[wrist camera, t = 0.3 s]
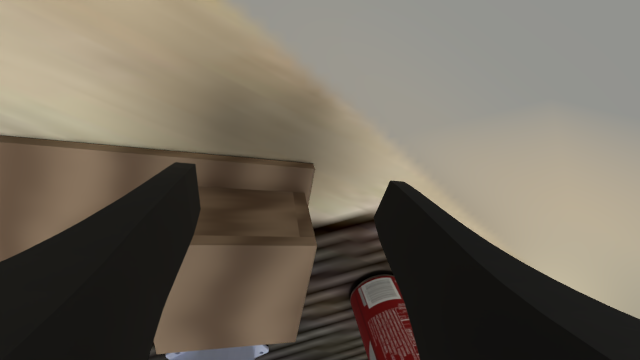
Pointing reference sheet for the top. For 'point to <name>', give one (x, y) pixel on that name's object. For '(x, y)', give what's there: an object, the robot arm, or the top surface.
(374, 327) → the soda can
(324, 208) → the top surface
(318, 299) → the top surface
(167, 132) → the top surface
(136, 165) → the walnut shelf
